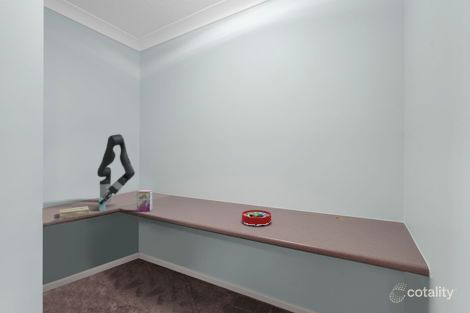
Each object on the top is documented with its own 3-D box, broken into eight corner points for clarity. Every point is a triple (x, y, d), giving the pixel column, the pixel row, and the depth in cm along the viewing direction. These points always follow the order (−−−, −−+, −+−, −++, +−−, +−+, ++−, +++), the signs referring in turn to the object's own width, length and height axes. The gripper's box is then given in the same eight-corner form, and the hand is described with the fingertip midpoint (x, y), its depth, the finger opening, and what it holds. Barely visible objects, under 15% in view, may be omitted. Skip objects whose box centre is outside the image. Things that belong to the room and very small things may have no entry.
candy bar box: (136, 211, 187) (136, 191, 186) (139, 209, 192) (139, 190, 191) (149, 211, 185) (149, 191, 185) (152, 210, 190) (152, 190, 190)
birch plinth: (60, 214, 178) (60, 209, 178) (87, 210, 188) (87, 205, 188) (59, 218, 167) (59, 213, 166) (88, 214, 177) (88, 209, 177)
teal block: (99, 209, 191) (98, 197, 191) (105, 209, 194) (104, 197, 194) (99, 210, 188) (99, 198, 188) (105, 210, 190) (105, 198, 190)
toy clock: (244, 209, 170) (272, 210, 166) (244, 217, 170) (272, 218, 166) (239, 216, 151) (269, 218, 146) (239, 225, 151) (269, 227, 146)
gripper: (110, 183, 201) (95, 199, 194) (113, 185, 189) (96, 202, 182) (117, 189, 204) (102, 204, 197) (120, 191, 192) (104, 208, 185)
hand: (99, 203), depth 190 cm, fingers closed on teal block, 4 cm apart
